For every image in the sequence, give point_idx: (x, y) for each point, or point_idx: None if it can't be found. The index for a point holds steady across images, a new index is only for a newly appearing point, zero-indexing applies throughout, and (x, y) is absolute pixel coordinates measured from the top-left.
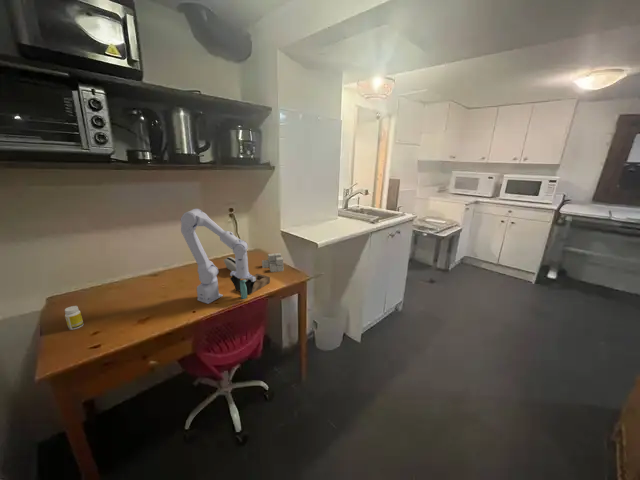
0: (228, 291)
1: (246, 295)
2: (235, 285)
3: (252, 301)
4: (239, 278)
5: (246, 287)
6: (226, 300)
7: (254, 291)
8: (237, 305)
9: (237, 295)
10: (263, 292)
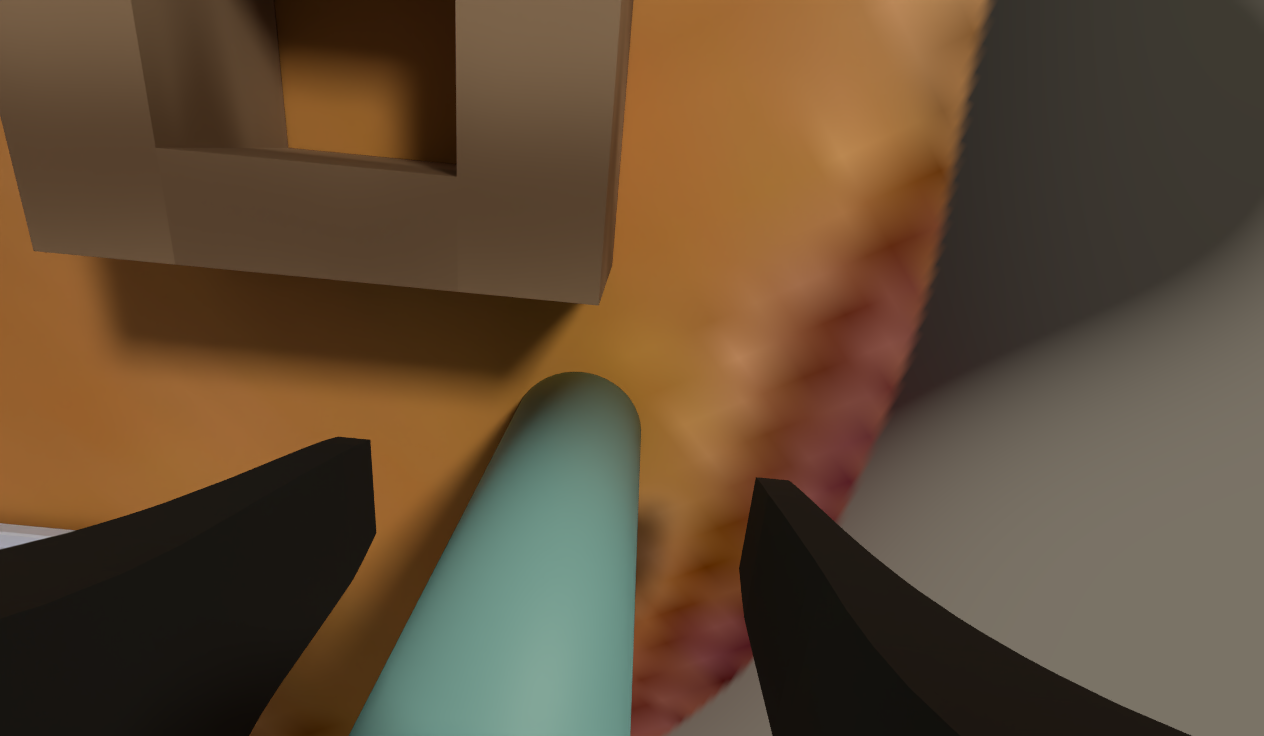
0: (80, 348)
1: (639, 462)
2: (271, 692)
3: (830, 492)
4: (65, 684)
5: (630, 568)
6: (367, 625)
7: (622, 107)
8: (657, 678)
9: (391, 415)
10: (865, 22)
